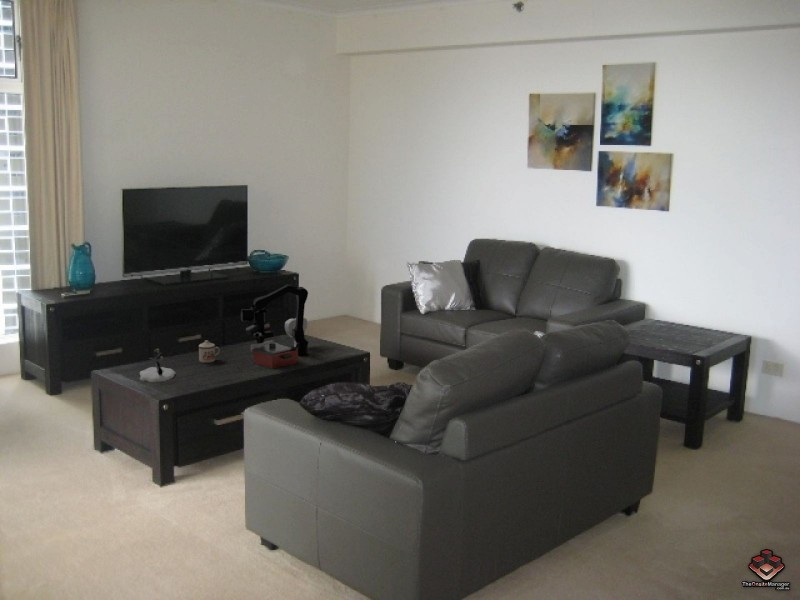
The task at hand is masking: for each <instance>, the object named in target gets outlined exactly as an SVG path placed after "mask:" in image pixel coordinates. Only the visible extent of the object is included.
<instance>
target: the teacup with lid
mask: <svg viewBox="0 0 800 600" xmlns="http://www.w3.org/2000/svg"><path fill="white" fill-rule="evenodd" d="M216 349H217V352H216ZM220 351H221V350H220V348H219V347H218V346H216V345H215V343H212V342H210V341H209V340H204V341H203V342H202V343H200V344H199V345H198V361H199V362H200V363H204V364H209V363H213V362H215V361H216V356H218V355H219V353H220ZM215 352H216V353H215Z"/></svg>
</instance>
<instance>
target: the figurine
mask: <svg viewBox="0 0 800 600" xmlns="http://www.w3.org/2000/svg"><path fill="white" fill-rule="evenodd" d="M153 352H154V356H153V357H149V358H148V359H149V360H152V361H155V366H151V367H148V368H145V369H144V370H141V371H140V372H139V376H140V377H139V381H142V382H144V381H147V382H150V383H151V382H152V383H157V382H166V381H169V380H171V379H173V378H174V377H175V375H176V373H177V372H176V371H174V369H172V368H167V367H163V366H162V367H161V365H160V363H159V361H161V362H162V361H164V356H161V354H162V352H160V349H159V348H156V349H154V351H153ZM158 358H159V359H158Z"/></svg>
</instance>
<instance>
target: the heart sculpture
mask: <svg viewBox="0 0 800 600" xmlns="http://www.w3.org/2000/svg"><path fill="white" fill-rule="evenodd" d="M295 326H296V317H295V318H289V319H287V320H286V321H285V322H284V331H285V333H286V334H287V335H288V336H289V337H290V338H292V336H291V334H292V329H294V328H295ZM307 327H308V319H307V318H306V317H304V320H303V330H304V333H306V330H307ZM296 344H297V343H296V341H295V340H294V339H293V346H294V347H296Z"/></svg>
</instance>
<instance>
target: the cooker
mask: <svg viewBox="0 0 800 600" xmlns="http://www.w3.org/2000/svg"><path fill="white" fill-rule="evenodd" d="M277 343H278V344H281V345H285V346H288V347H292V348H293V350H288V351H284V352H280V353H276V354H274V353H272V352H268V351H265V350H261V349H258V348H254V352H253V363H254V364H256V365H259V366H263V367H266V368H269V369H272V370H273V369H278V368H280V367H285V366H289V365H292V364H296V363H299V355H298V348H297V347H294V345H290V344H286V343H283V342H277Z"/></svg>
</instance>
